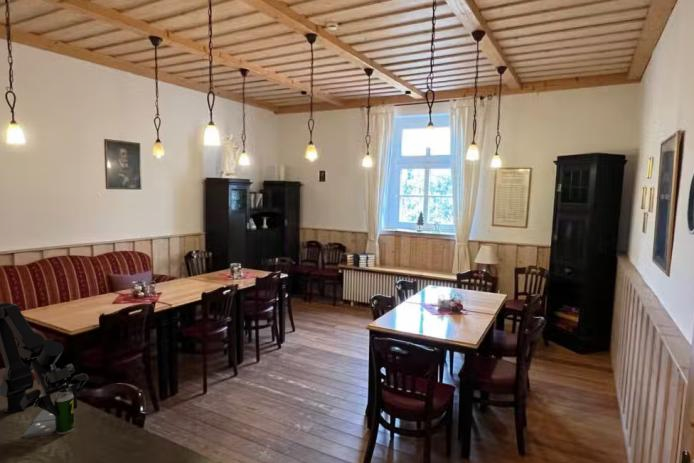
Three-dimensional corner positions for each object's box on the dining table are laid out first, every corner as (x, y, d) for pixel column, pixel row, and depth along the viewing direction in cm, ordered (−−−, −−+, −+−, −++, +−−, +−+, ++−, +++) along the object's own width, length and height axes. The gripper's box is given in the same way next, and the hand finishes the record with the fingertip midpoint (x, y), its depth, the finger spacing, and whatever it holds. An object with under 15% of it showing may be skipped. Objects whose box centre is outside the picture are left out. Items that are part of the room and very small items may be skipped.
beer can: (55, 436, 136) (53, 400, 135) (55, 428, 140) (53, 393, 139) (75, 431, 139) (73, 396, 138) (75, 424, 143) (73, 389, 142)
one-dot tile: (42, 412, 151) (42, 410, 151) (68, 409, 153) (68, 407, 153) (32, 424, 143) (32, 421, 143) (59, 420, 145) (59, 418, 145)
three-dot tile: (33, 424, 143) (33, 422, 143) (60, 421, 145) (60, 419, 145) (22, 437, 135) (22, 435, 135) (51, 434, 137) (51, 431, 137)
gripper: (22, 369, 131) (44, 412, 127) (84, 350, 148) (104, 387, 143) (11, 388, 136) (31, 430, 131) (72, 367, 152) (92, 404, 148)
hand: (67, 411), depth 138 cm, fingers closed on beer can, 5 cm apart
